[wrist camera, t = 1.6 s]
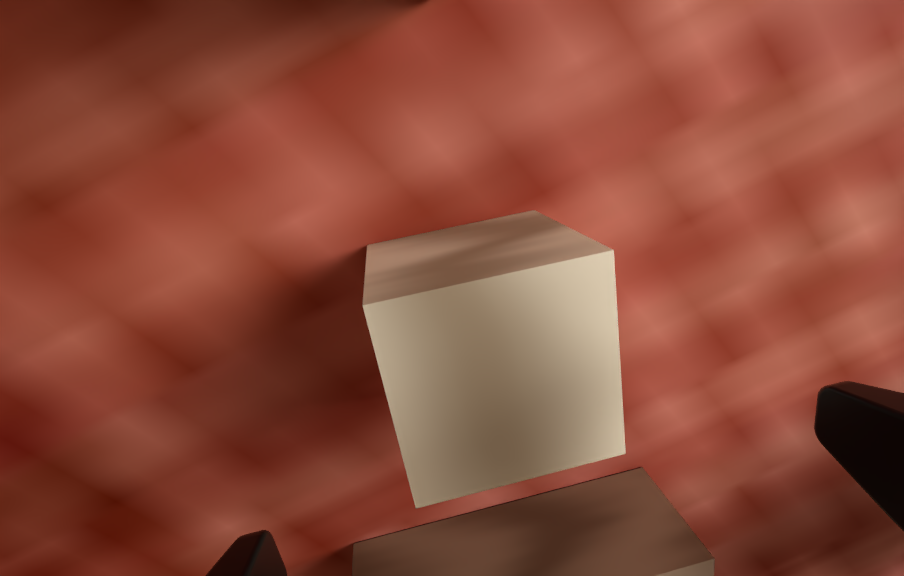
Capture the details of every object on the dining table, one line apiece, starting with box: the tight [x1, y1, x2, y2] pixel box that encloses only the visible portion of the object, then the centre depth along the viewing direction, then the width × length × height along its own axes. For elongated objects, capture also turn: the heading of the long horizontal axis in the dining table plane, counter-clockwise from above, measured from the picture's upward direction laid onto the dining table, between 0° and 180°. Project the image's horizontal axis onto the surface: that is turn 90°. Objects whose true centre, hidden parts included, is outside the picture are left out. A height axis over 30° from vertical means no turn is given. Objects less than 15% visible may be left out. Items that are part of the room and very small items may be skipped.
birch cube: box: [362, 210, 626, 508], centre depth 12 cm, size 5×5×5 cm
